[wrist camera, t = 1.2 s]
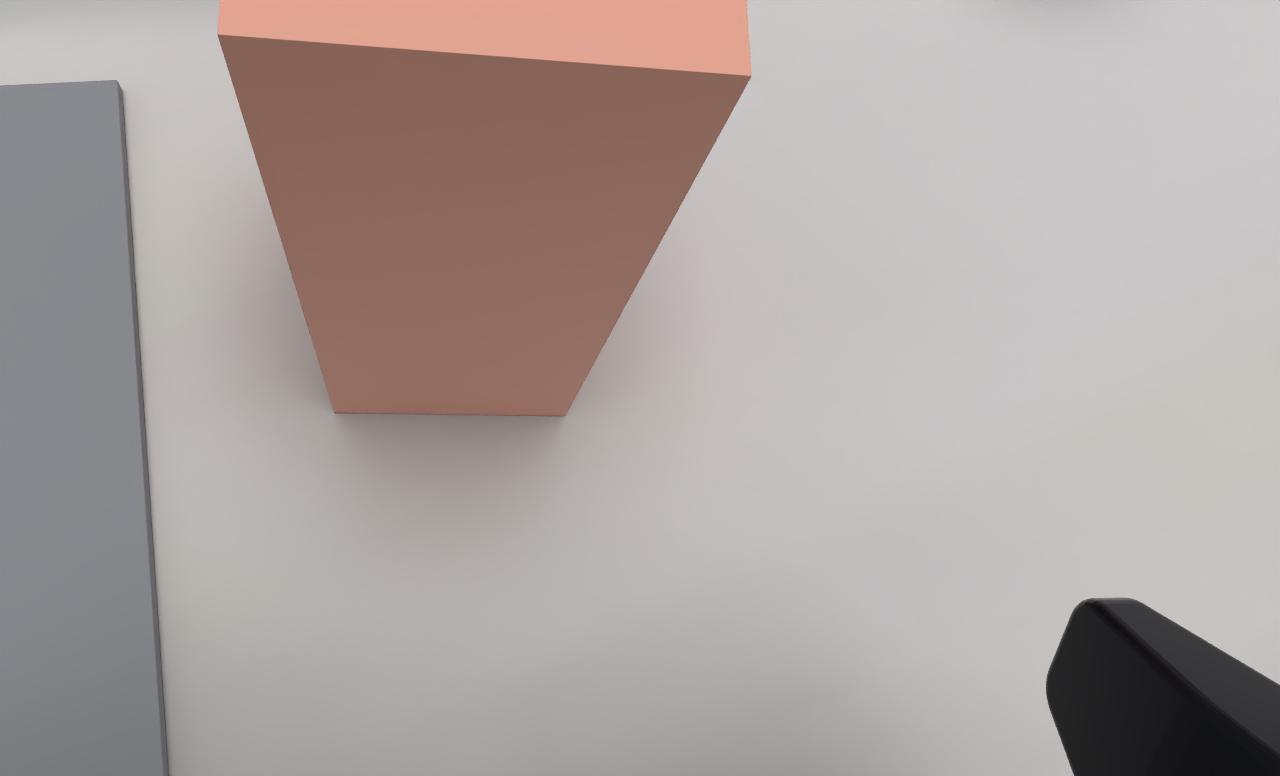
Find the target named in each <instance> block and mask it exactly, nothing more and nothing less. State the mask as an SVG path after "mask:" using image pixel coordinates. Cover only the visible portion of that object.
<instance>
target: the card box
mask: <svg viewBox="0 0 1280 776" xmlns="http://www.w3.org/2000/svg"><path fill="white" fill-rule="evenodd" d="M218 38H219V41H220V44H221V47H222V51H223V54H224V57H225V60H226V64H227V67H228V70H229V73H230V76H231V80H232V83H233V86H234V89H235V93H236V96H237V99H238V102H239V106H240V109H241V112H242V115H243V118H244V122H245V125H246V128H247V131H248V135H249V138H250V141H251V144H252V148H253V151H254V154H255V157H256V160H257V164H258V167H259V170H260V173H261V177H262V180H263V183H264V186H265V190H266V193H267V196H268V199H269V202H270V206H271V209H272V212H273V215H274V219H275V222H276V225H277V228H278V232H279V235H280V238H281V241H282V244H283V248H284V251H285V254H286V257H287V261H288V264H289V267H290V270H291V274H292V277H293V280H294V283H295V286H296V290H297V293H298V296H299V299H300V303H301V306H302V309H303V312H304V316H305V319H306V322H307V325H308V328H309V332H310V335H311V338H312V341H313V345H314V348H315V351H316V354H317V357H318V361H319V364H320V367H321V370H322V374H323V377H324V380H325V383H326V387H327V390H328V393H329V396H330V399H331V403H332V406H333V409H334V412H335V413H381V414H454V415H526V416H565V415H566V413H567V411H568V410H569V408H570V406H571V404H572V402H573V400H574V399H575V397H576V395H577V393H578V391H579V390H580V388H581V386H582V384H583V382H584V380H585V379H586V377H587V375H588V373H589V371H590V369H591V368H592V366H593V364H594V362H595V360H596V359H597V357H598V355H599V353H600V351H601V349H602V348H603V346H604V344H605V342H606V340H607V338H608V337H609V335H610V333H611V331H612V329H613V328H614V326H615V324H616V322H617V320H618V318H619V317H620V315H621V313H622V311H623V309H624V307H625V306H626V304H627V302H628V300H629V298H630V297H631V295H632V293H633V291H634V289H635V287H636V286H637V284H638V282H639V280H640V278H641V277H642V275H643V273H644V271H645V269H646V267H647V266H648V264H649V262H650V260H651V258H652V256H653V255H654V253H655V251H656V249H657V247H658V246H659V244H660V242H661V240H662V238H663V236H664V235H665V233H666V231H667V229H668V227H669V225H670V224H671V222H672V220H673V218H674V216H675V215H676V213H677V211H678V209H679V207H680V205H681V204H682V202H683V200H684V198H685V196H686V194H687V193H688V191H689V189H690V187H691V185H692V184H693V182H694V180H695V178H696V176H697V174H698V173H699V171H700V169H701V167H702V165H703V163H704V162H705V160H706V158H707V156H708V154H709V153H710V151H711V149H712V147H713V145H714V143H715V142H716V140H717V138H718V136H719V134H720V132H721V131H722V129H723V127H724V125H725V123H726V122H727V120H728V118H729V116H730V114H731V112H732V111H733V109H734V107H735V105H736V103H737V101H738V100H739V98H740V96H741V94H742V92H743V91H744V89H745V87H746V85H747V83H748V81H749V80H750V78H751V61H750V46H749V30H748V15H747V0H220V8H219V21H218Z"/></svg>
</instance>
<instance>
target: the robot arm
mask: <svg viewBox="0 0 1280 776" xmlns="http://www.w3.org/2000/svg"><path fill="white" fill-rule="evenodd" d="M1046 694H1047V700H1048V704H1049V708H1050V711H1051V714H1052V717H1053V719H1054V722H1055V725H1056V727H1057V730H1058V733H1059V736H1060V738H1061V741H1062V744H1063V747H1064V749H1065V752H1066V755H1067V758H1068V760H1069V763H1070V766H1071V769H1072V771H1073V774H1074V776H1280V685H1279V684H1277V683H1275V682H1274V681H1272V680H1270V679H1269V678H1267V677H1265V676H1264V675H1262V674H1260V673H1259V672H1257V671H1255V670H1254V669H1252V668H1250V667H1249V666H1247V665H1245V664H1244V663H1242V662H1240V661H1238V660H1237V659H1235V658H1233V657H1232V656H1230V655H1228V654H1227V653H1225V652H1223V651H1222V650H1220V649H1218V648H1217V647H1215V646H1213V645H1212V644H1210V643H1208V642H1207V641H1205V640H1203V639H1202V638H1200V637H1198V636H1197V635H1195V634H1193V633H1191V632H1190V631H1188V630H1186V629H1185V628H1183V627H1181V626H1180V625H1178V624H1176V623H1175V622H1173V621H1171V620H1170V619H1168V618H1166V617H1165V616H1163V615H1161V614H1160V613H1158V612H1156V611H1155V610H1153V609H1151V608H1150V607H1148V606H1146V605H1144V604H1143V603H1141V602H1139V601H1137V600H1134V599H1130V598H1091V599H1087V600H1084V601H1082V602H1081V603H1079V604H1078V605H1077V606H1076V607H1075V608H1074V610H1073V612H1072V614H1071V616H1070V619H1069V621H1068V624H1067V626H1066V629H1065V631H1064V634H1063V636H1062V639H1061V641H1060V644H1059V646H1058V648H1057V651H1056V653H1055V656H1054V658H1053V661H1052V663H1051V666H1050V668H1049V671H1048V674H1047V681H1046Z"/></svg>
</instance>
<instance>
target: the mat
mask: <svg viewBox="0 0 1280 776" xmlns="http://www.w3.org/2000/svg"><path fill="white" fill-rule="evenodd" d="M0 776H169V775H168V760H167V745H166V730H165V715H164V701H163V686H162V671H161V656H160V641H159V627H158V612H157V597H156V582H155V567H154V553H153V538H152V523H151V508H150V493H149V479H148V464H147V449H146V434H145V419H144V405H143V390H142V375H141V360H140V346H139V331H138V316H137V301H136V286H135V272H134V257H133V242H132V227H131V212H130V198H129V183H128V168H127V153H126V138H125V124H124V109H123V94H122V89H121V87H120V85H119V83H118V81H117V80H109V81H88V82H67V83H46V84H25V85H4V86H0Z"/></svg>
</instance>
